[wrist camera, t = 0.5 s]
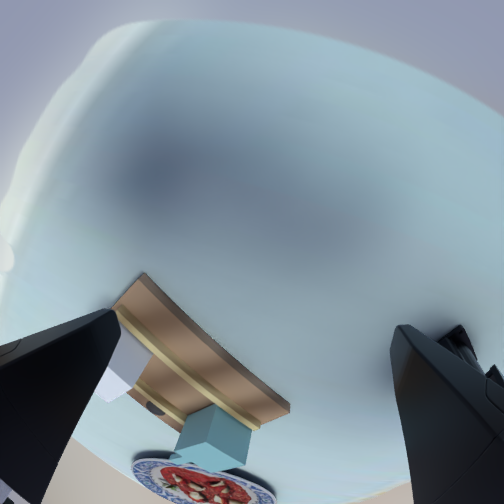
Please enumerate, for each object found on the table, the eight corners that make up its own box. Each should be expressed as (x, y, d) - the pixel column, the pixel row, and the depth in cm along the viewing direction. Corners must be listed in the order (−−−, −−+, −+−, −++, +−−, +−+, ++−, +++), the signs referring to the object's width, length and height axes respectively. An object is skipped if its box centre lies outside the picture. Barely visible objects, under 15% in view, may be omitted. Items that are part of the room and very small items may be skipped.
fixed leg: (155, 350, 25) (132, 388, 20) (113, 381, 28) (93, 412, 23) (115, 312, 24) (85, 344, 19) (80, 350, 27) (56, 378, 22)
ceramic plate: (280, 463, 32) (278, 480, 30) (276, 512, 41) (275, 523, 39) (114, 433, 36) (106, 446, 33) (157, 492, 45) (153, 502, 42)
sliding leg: (252, 426, 27) (245, 465, 22) (198, 445, 30) (188, 477, 25) (217, 402, 26) (205, 441, 21) (167, 424, 29) (153, 456, 25)
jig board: (290, 404, 27) (289, 420, 25) (202, 438, 32) (198, 452, 30) (144, 272, 24) (132, 284, 22) (82, 341, 28) (72, 352, 26)
